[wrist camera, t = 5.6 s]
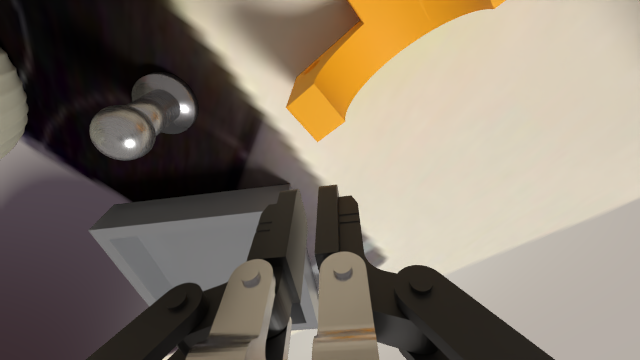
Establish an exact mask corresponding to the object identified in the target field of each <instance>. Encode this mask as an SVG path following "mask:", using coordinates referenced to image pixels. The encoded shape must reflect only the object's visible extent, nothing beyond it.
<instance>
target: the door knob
mask: <svg viewBox="0 0 640 360" xmlns="http://www.w3.org/2000/svg"><path fill="white" fill-rule="evenodd" d="M197 116H198V102H197V99H196V96H195V94H194V93H193V91H192V90H191V88H190V87H189V86H188V85H187V84H186V83H185V82H184V81H183V80H181V79H180V78H178V77H177V76H175V75H172V74H170V73H166V72H154V73H150V74H148V75H146V76H144V77H142V78H140V79H139V80H138V81H137V82H136V83H135V84H134V87H133V90H132V102H131V103H129V104H128V105H114V106H109V107H106V108H104V109H102V110H101V111H99V112H98V113H97V114H96V115H95V116H94V117H93V119H92V121H91V124H90V137H91V139H92V142H93V144H94V145H95V146H96V148H97V149H98V150H99V151H101V152H102V153H103V154H105V155H106V156H108V157H111V158H114V159H117V160H134V159H138V158H140V157H142V156H144V155H145V154H147V153H148V152H149V151H150V150H151V149H152V147H153V145H154V143H155V139H156V136H157V135H158V134H159V133H160V132H163V133H168V134H177V133H181V132H183V131H185V130H187V129H188V128H189V127H190V126H191V125H192V124H193V123H194V122H195V120H196V118H197Z"/></svg>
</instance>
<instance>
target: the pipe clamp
mask: <svg viewBox="0 0 640 360" xmlns="http://www.w3.org/2000/svg"><path fill="white" fill-rule="evenodd" d="M347 1H348V3H349V4H350V6H351V7H352V9H353V10H354V12H355V13H356V15H357V16H358V18H359V19H360V21H359V22H358V23H357V24H356V25H355V26H353V27H352V28H351V29H350V30H349V31H348V32H347V33H346V34H344V35H343V36H342V37H341V38H340V39H339V40H338V41H337V42H336V43H334V44H333V45H332V46H331V47H330V48H329V49H328V50H327V51H325V52H324V53H323V54H322V55H321V56H320V57H319V58H318V59H316V60H315V61H314V62H313V63H312V64H311V65H310V66H309V67H308V68H306V69H305V70H304V71H303V72H302V73H301V74H300V75H299V76H297V77H296V80H295V83H294V86H293V89H292V92H291V95H290V97H289V100H288V103H287V106H286V108H287V109H288V110H289V111H290V113H291V114H292V115H293V116H294V117H295V118H296V119H297V120H298V121H299V122H300V123H301V125H302V126H303V127H304V128H305V129H306V130H307V131H308V132H309V133H310V134H311V135H312V136H313V138H314V139H315V140H316V141H317V142H318V141H320V140H321V139H322V138H324V137H325V136H326V135H328V134H329V133H330V132H332V131H333V130H334V129H336V128H337V127H338V126H340V125H341V124H342V123H344V122H345V115H346V112H347V109H348V107H349V105H350V103H351V101H352V100H353V98H354V97H355V95H356V94H357V93H358V91H359V90H360V89H361V88H362V86H363V85H364V84H365V83H366V82H367V81H368V80H369V79H370V78H371V77H372V76H373V75H374V74H375V73H376V72H377V71H378V70H379V69H380V68H381V67H382V66H383V65H384V64H385V63H387V62H388V61H389V60H390V59H391V58H393V57H394V56H395V55H396V54H398V53H399V52H400V51H402V50H403V49H404V48H406V47H407V46H408V45H410V44H411V43H413V42H414V41H416V40H417V39H419V38H420V37H422V36H423V35H425V34H426V33H428V32H430V31H432V30H433V29H435V28H437V27H439V26H440V25H442V24H444V23H446V22H448V21H451V20H453V19H455V18H457V17H460V16H462V15H465V14H468V13H471V12H474V11H478V10H483V9H495V8H496V7H497V6H499V5H500V4H501V3H503V2H504V1H505V0H347Z"/></svg>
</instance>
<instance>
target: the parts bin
mask: <svg viewBox="0 0 640 360" xmlns="http://www.w3.org/2000/svg"><path fill="white" fill-rule="evenodd" d="M285 190H292V189H291V185H290V184H284V185H276V186H268V187H259V188H251V189H242V190H234V191H225V192H217V193H209V194H200V195H192V196H183V197H175V198H166V199H158V200H150V201H141V202H133V203H124V204H116V205H113V206H112V207H111V208H110V209H109V210H108V211H107V212H106V213H105V214H104V215H103V216H102V217H101V218H100V219H99V220H98V221H97V223H95V224H94V226H92V227H91V228H90V229H89V232H90V233H91V234H92V236H93V237H94V238H95V239H96V241H97V242H98V243H99V244H100V246H101V247H102V248H103V249H104V250H105V252H106V253H107V254H108V256H109V257H110V258H111V259H112V260H113V262H114V263H115V264H116V266H117V267H118V268H119V269H120V271H121V272H122V273H123V274H124V276H125V277H126V278H127V279H128V281H129V282H130V283H131V284H132V285H133V287H134V288H135V289H136V290H137V292H138V293H139V294H140V295H141V297H142V298H143V299H144V300H145V302H146V303H147V304H148V305H149V307H150V306H151V305H152V304H153V303H154V302H156V301H157V300H158V299H159V298H160V297H162V296H163V295H164V294H165V293H166V292H168V291H169V290H170V289H172V288H174V287H175V286H178V285H180V284H183V283H189V282H190V283H196V284H198V285H199V286H200V287H201V289H202V290H203V291H205V290H208V289H211V288H213V287H216V286H219V285H222V284H224V283H226V282H228V281H229V278H230V276H231V274H232V273H233V271H234V270H235V269H236V268H237V267H238V266H240V265H241V264H243V263H245V262H246V261H247V257H248V254H249V251H250V248H251V245H252V242H253V238H254V235H255V233H256V229H257V226H258V222H259V219H260V216H261V213H262V212H263V211H264V210H265V209H266V207H267V206H268V205H270V204H277V201H278V197H279V193H280V191H285ZM318 306H319V294H318V290H317V287H316V283H315V279H314V275H313V271H312V267H311V263H310V259H309V255H308V251H307V248H306V253H305V263H304V274H303V284H302V294H301V303H292V306H291V313H290V317H291V320H292V327H291V330H304V329H318Z"/></svg>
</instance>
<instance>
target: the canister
mask: <svg viewBox="0 0 640 360" xmlns="http://www.w3.org/2000/svg"><path fill="white" fill-rule="evenodd" d="M22 85H23V82H22V81H21V79H20V78H19V77H18V75H17V72H16V67H14V66H13V64H12V63H11V61H10V60H9V58H8V55H7V53H6V52H5V51H4V50H3V49H2V48H1V47H0V159H2V158H3V157H4V156H5V155H7V154H8V153H9V152H10V151H11V150H12V149H13V148H14V147H15V145H16V144H17V142H18V140H19V139H20V138H21V137H22V135H23V133H24V130H25V126H26V124H27V120H28V118H27V112H28V105H27V103H26V98H27V95H26V93H25V92H24V90H23V86H22Z"/></svg>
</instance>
